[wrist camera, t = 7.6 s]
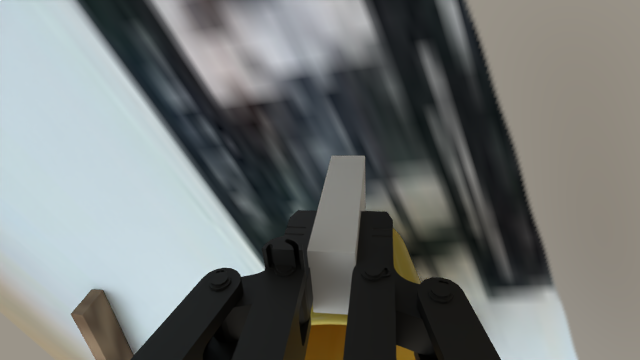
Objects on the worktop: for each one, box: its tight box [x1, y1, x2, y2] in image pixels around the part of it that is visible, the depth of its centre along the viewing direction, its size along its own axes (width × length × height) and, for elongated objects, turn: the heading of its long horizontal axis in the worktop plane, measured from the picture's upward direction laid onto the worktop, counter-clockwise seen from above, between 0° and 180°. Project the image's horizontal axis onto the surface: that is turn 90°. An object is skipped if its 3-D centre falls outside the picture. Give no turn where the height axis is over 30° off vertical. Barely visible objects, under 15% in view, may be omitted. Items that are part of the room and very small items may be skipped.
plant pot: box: [305, 228, 421, 360], centre depth 22 cm, size 10×10×10 cm
